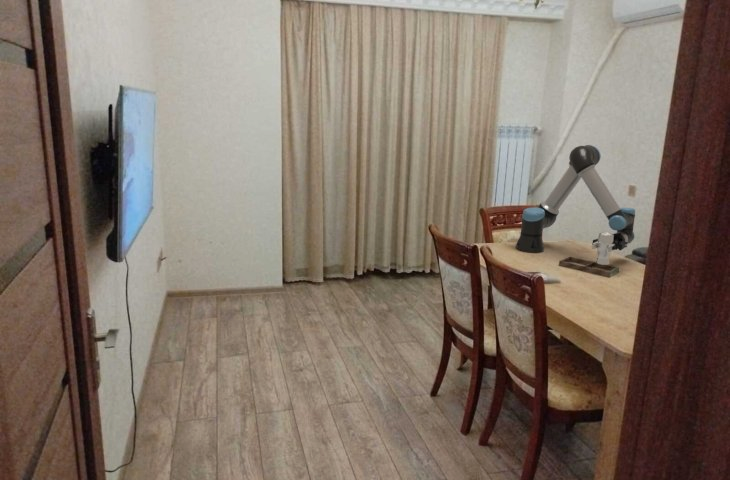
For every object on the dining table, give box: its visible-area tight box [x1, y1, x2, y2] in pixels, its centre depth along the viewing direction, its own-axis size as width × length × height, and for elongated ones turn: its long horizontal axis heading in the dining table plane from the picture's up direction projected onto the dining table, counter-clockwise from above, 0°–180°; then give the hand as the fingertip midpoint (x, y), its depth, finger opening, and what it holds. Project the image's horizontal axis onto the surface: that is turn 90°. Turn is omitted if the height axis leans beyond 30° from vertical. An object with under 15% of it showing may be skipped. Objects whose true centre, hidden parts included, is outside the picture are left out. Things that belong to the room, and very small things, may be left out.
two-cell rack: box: [558, 256, 620, 278], centre depth 258 cm, size 25×13×2 cm, turn 46°
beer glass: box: [595, 232, 614, 265], centre depth 251 cm, size 7×7×15 cm
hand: (601, 247), depth 247 cm, fingers closed on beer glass, 7 cm apart
